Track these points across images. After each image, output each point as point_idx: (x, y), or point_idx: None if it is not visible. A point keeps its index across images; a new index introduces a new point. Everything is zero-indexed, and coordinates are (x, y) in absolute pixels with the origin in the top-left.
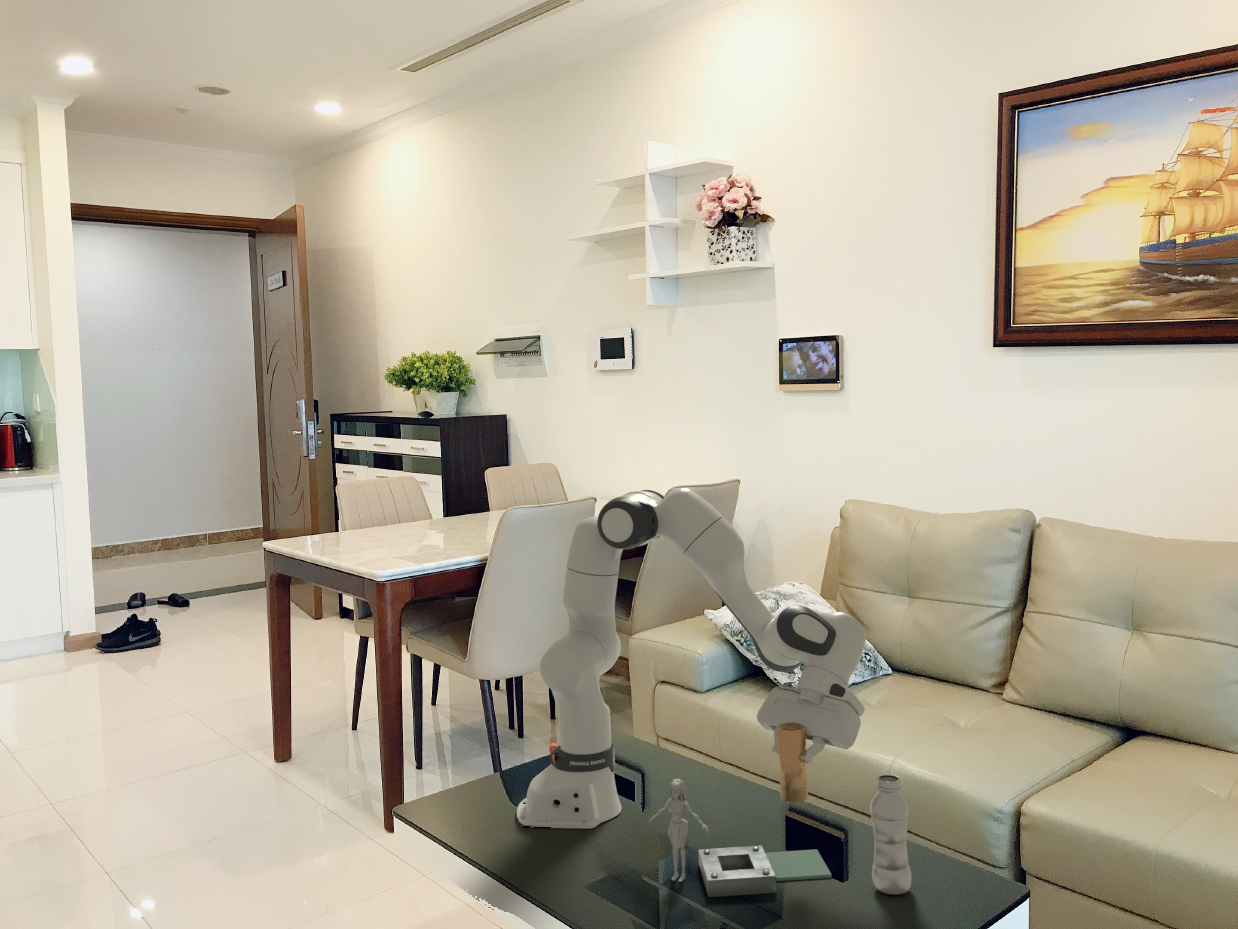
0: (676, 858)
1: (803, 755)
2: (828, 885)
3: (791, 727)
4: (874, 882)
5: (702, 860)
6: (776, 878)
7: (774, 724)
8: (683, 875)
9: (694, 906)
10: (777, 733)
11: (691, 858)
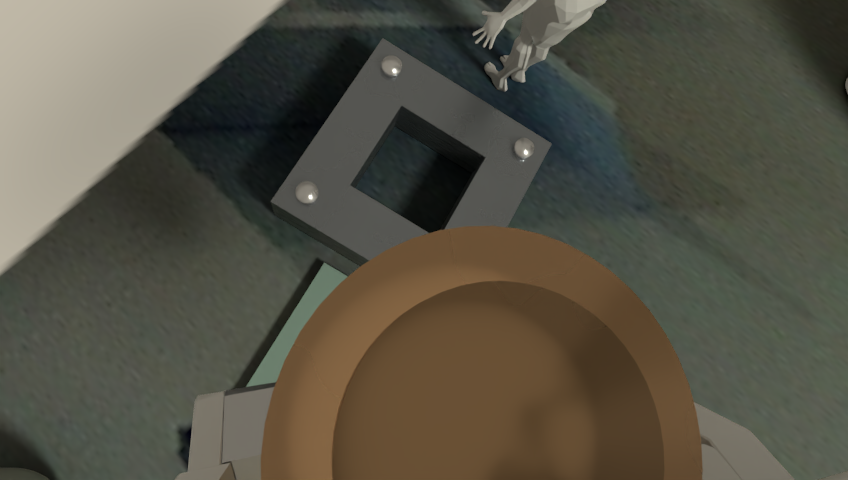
0: (532, 50)
1: (244, 403)
2: (197, 374)
3: (432, 387)
4: (27, 470)
5: (489, 107)
6: (327, 265)
7: (841, 477)
8: (496, 74)
9: (364, 11)
10: (707, 446)
11: (577, 172)
